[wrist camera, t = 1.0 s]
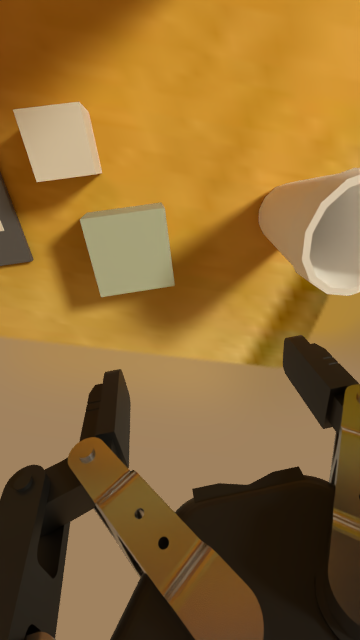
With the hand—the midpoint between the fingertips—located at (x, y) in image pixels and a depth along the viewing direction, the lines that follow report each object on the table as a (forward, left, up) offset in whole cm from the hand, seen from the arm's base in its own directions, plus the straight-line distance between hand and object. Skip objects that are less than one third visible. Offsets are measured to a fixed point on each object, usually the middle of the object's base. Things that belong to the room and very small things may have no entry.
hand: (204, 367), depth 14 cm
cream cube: (-11, -8, -22) cm, 26 cm away
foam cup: (-2, +14, -22) cm, 27 cm away
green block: (-1, -4, -22) cm, 23 cm away
